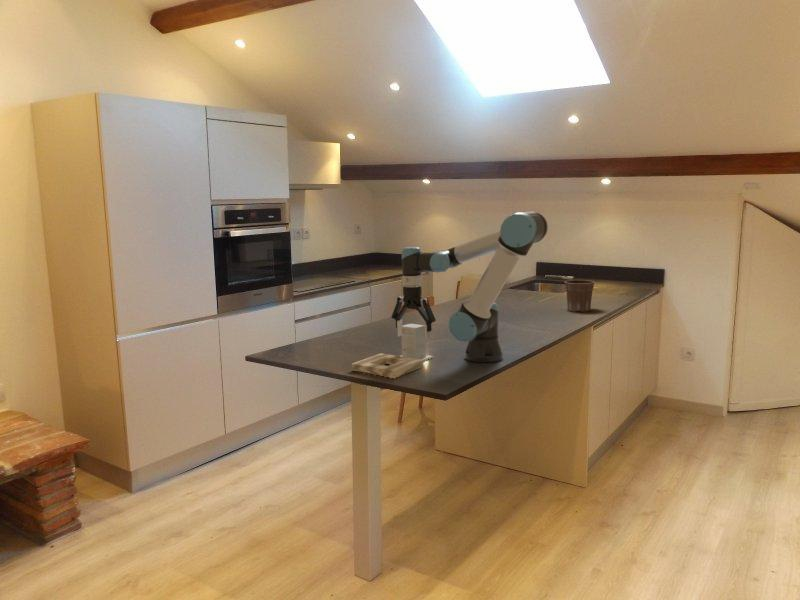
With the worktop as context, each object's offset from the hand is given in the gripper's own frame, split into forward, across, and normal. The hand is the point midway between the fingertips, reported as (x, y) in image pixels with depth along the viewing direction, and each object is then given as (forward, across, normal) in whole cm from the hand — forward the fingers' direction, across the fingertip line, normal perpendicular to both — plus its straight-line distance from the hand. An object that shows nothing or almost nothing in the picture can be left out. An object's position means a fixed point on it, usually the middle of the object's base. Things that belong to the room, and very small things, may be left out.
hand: (413, 337), depth 254 cm
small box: (+8, 0, 0) cm, 8 cm away
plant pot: (+9, +19, +132) cm, 134 cm away
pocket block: (+9, 0, -18) cm, 20 cm away
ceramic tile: (+9, 0, 0) cm, 9 cm away
